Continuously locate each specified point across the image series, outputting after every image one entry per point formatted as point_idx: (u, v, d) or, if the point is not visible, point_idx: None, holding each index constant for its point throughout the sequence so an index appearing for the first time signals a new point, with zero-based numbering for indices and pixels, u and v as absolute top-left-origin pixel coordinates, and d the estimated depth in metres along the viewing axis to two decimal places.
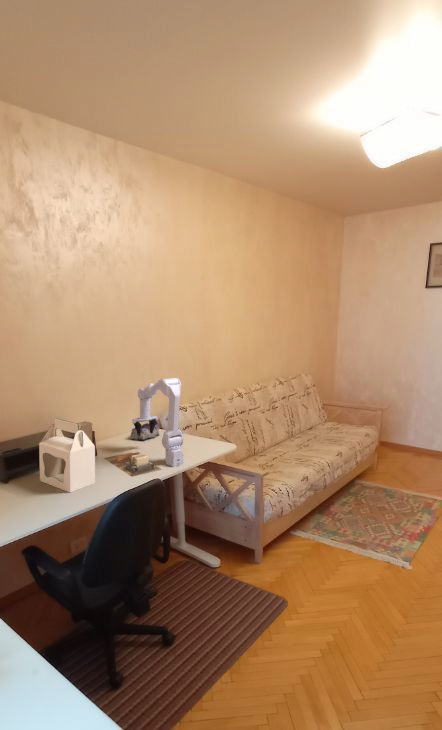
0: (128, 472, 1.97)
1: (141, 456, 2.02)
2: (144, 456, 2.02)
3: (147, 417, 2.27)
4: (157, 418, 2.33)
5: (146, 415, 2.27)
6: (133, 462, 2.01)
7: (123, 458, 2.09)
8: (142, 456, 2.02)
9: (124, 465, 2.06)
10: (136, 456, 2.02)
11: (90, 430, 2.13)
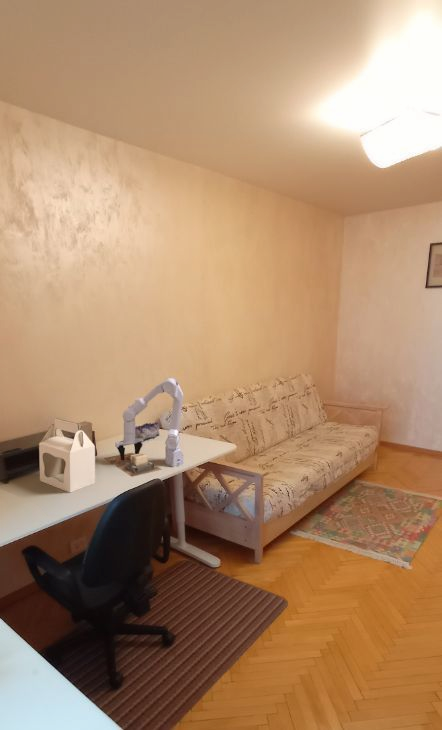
0: (128, 472, 1.97)
1: (140, 455, 2.03)
2: (143, 455, 2.03)
3: (132, 440, 2.08)
4: None
5: (131, 438, 2.07)
6: (133, 461, 2.01)
7: None
8: (141, 455, 2.03)
9: (124, 465, 2.06)
10: (135, 455, 2.03)
11: (90, 430, 2.13)
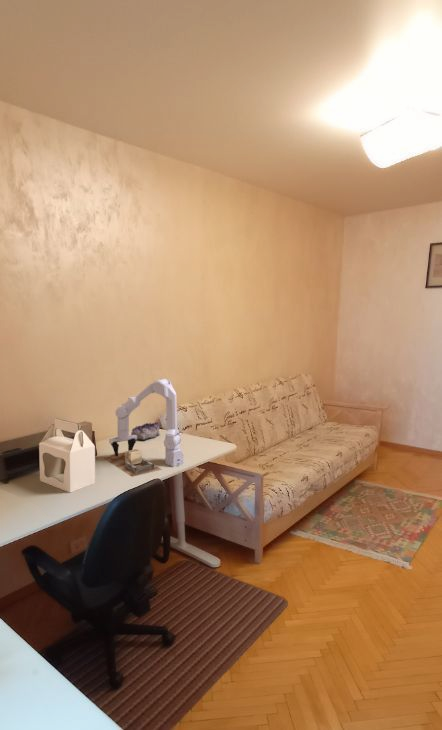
0: (128, 472, 1.97)
1: (134, 450, 2.09)
2: (137, 450, 2.09)
3: (125, 437, 2.13)
4: (136, 437, 2.19)
5: (124, 435, 2.13)
6: (127, 457, 2.07)
7: (117, 456, 2.16)
8: (135, 450, 2.09)
9: (124, 465, 2.06)
10: (129, 451, 2.09)
11: (90, 430, 2.13)
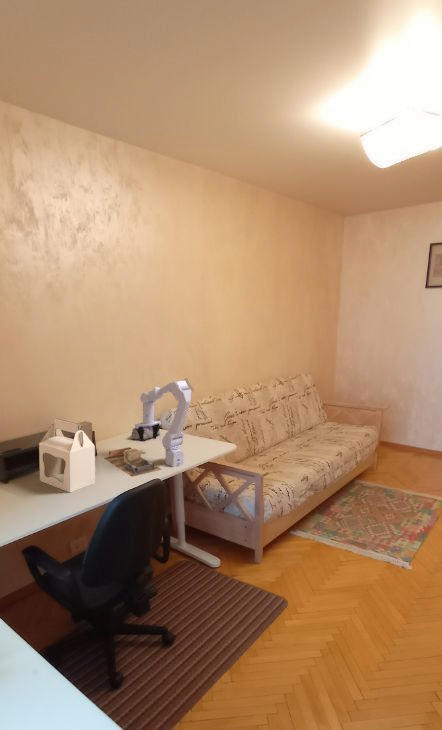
0: (128, 472, 1.97)
1: (133, 450, 2.10)
2: (136, 450, 2.10)
3: (150, 422, 2.19)
4: None
5: (149, 420, 2.18)
6: (126, 456, 2.09)
7: (115, 453, 2.17)
8: (134, 450, 2.11)
9: (124, 465, 2.06)
10: (129, 451, 2.10)
11: (90, 430, 2.13)
